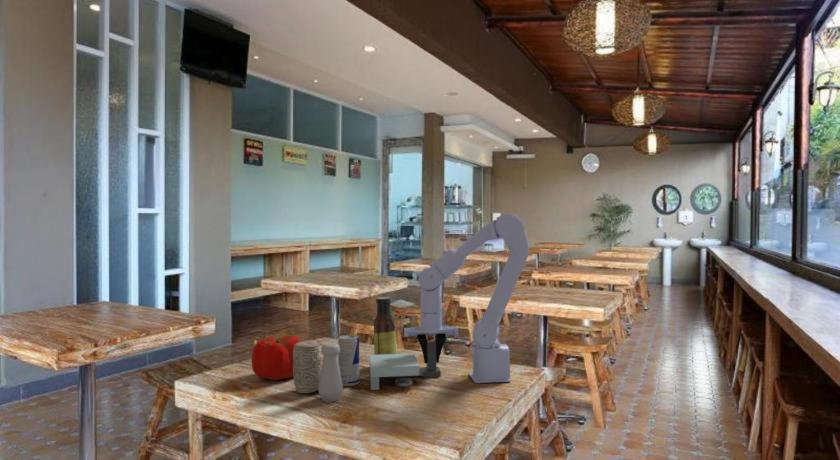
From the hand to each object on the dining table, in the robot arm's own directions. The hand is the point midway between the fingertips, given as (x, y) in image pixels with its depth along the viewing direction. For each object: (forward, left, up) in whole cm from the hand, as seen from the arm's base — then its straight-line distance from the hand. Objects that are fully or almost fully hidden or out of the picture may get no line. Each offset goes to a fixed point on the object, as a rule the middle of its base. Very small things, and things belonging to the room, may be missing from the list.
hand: (431, 362), depth 137 cm
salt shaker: (+26, +15, -4) cm, 30 cm away
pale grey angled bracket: (+11, +4, -3) cm, 12 cm away
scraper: (+4, 0, -3) cm, 6 cm away
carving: (+32, +9, -4) cm, 34 cm away
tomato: (+41, -4, -4) cm, 41 cm away
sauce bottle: (+12, -9, -4) cm, 15 cm away
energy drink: (+22, +4, -4) cm, 23 cm away
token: (+8, +7, -4) cm, 11 cm away
